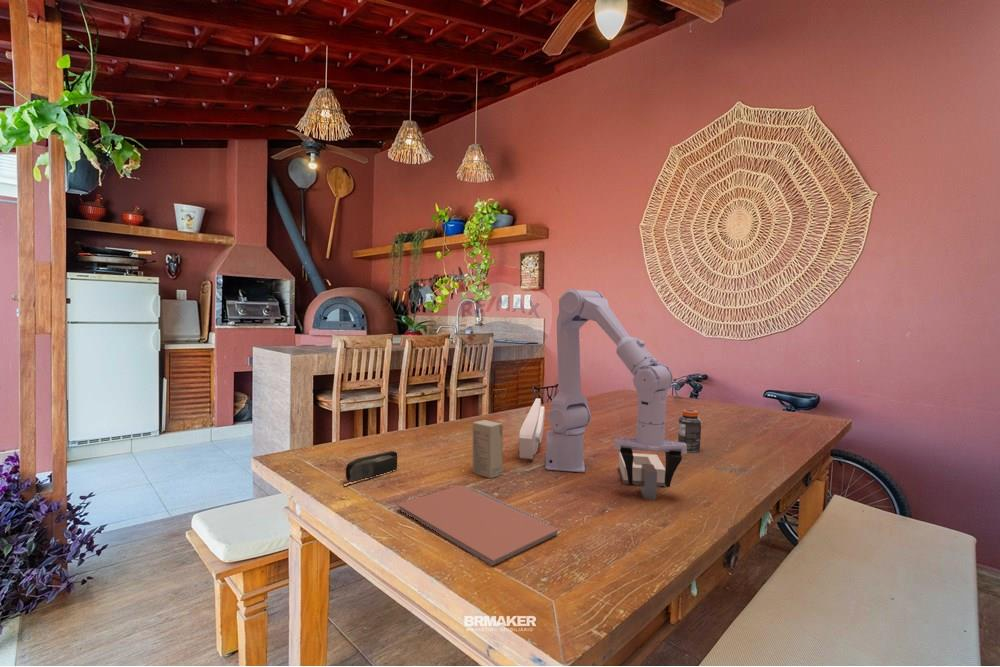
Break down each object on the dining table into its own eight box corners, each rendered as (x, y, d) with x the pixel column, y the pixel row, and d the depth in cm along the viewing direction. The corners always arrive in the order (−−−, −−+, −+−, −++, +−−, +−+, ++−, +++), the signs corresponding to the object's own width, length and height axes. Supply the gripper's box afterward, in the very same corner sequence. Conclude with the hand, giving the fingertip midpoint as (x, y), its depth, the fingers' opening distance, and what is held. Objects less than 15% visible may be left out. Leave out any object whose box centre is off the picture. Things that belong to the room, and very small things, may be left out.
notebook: (563, 536, 86) (563, 525, 86) (493, 571, 74) (493, 558, 74) (464, 491, 105) (464, 482, 105) (397, 513, 94) (397, 503, 94)
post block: (623, 484, 110) (624, 466, 110) (618, 468, 121) (619, 452, 121) (664, 487, 109) (665, 469, 109) (656, 470, 120) (656, 454, 120)
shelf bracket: (547, 437, 149) (547, 399, 145) (536, 481, 125) (536, 437, 122) (529, 435, 150) (529, 397, 146) (515, 479, 126) (514, 435, 123)
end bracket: (644, 499, 102) (645, 471, 102) (640, 490, 107) (641, 463, 106) (655, 500, 102) (657, 472, 101) (651, 491, 107) (653, 464, 106)
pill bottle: (701, 449, 139) (703, 410, 139) (697, 454, 134) (699, 413, 134) (680, 445, 143) (681, 407, 142) (675, 450, 138) (677, 410, 137)
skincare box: (503, 474, 115) (504, 423, 114) (490, 479, 111) (491, 426, 111) (483, 468, 119) (485, 418, 118) (471, 472, 116) (472, 421, 115)
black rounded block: (391, 448, 118) (338, 462, 106) (400, 451, 116) (347, 465, 104) (391, 469, 118) (338, 485, 106) (399, 471, 116) (346, 488, 104)
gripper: (618, 424, 100) (615, 488, 101) (691, 428, 98) (688, 493, 99) (614, 416, 107) (612, 476, 108) (683, 420, 105) (680, 481, 106)
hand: (648, 484), depth 104 cm, fingers open, 7 cm apart
